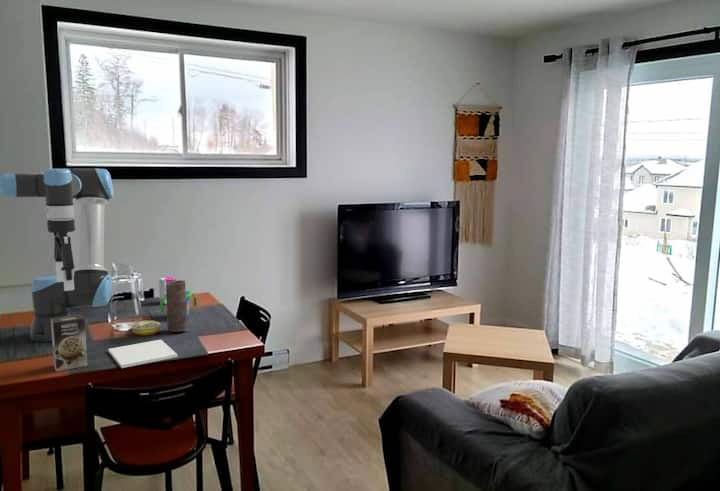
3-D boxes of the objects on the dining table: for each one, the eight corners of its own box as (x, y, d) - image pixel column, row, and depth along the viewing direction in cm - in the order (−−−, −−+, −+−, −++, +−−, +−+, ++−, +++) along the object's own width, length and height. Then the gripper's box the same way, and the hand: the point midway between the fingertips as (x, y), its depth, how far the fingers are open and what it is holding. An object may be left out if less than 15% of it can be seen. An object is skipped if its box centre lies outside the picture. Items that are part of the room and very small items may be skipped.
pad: (108, 351, 194) (108, 348, 194) (161, 342, 205) (161, 339, 205) (121, 368, 180) (121, 365, 180) (177, 357, 191) (177, 354, 190)
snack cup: (192, 310, 245) (192, 288, 244) (201, 316, 237) (200, 293, 235) (156, 316, 236) (155, 292, 234) (164, 322, 228) (163, 298, 226)
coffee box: (56, 372, 176) (52, 322, 173) (53, 365, 181) (49, 317, 178) (88, 366, 181) (84, 318, 179) (84, 360, 186) (81, 313, 184)
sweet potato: (181, 335, 213) (179, 284, 210) (163, 333, 214) (161, 282, 211) (191, 329, 220) (189, 279, 217) (174, 327, 222) (172, 278, 218)
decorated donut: (158, 326, 223) (158, 317, 223) (162, 334, 214) (162, 325, 213) (130, 329, 219) (130, 320, 218) (133, 338, 209) (133, 328, 209)
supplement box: (164, 305, 253) (163, 280, 251) (159, 302, 257) (158, 278, 256) (177, 303, 257) (176, 278, 255) (171, 300, 261) (170, 276, 259)
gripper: (41, 215, 181) (46, 279, 184) (53, 224, 161) (58, 295, 165) (67, 214, 185) (71, 276, 189) (82, 222, 166) (86, 292, 169)
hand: (65, 285), depth 177 cm, fingers open, 13 cm apart
